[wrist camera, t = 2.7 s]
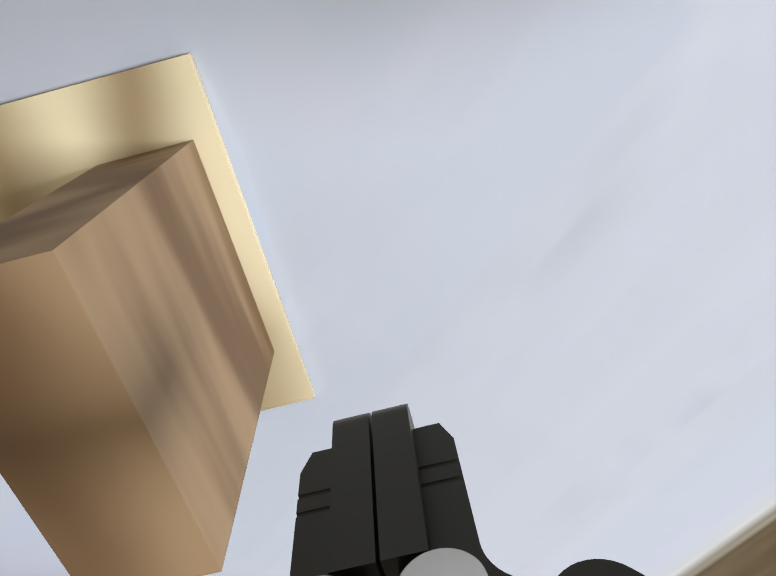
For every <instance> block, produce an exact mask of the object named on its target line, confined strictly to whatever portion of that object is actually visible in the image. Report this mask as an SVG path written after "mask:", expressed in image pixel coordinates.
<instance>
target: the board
mask: <svg viewBox="0 0 776 576" xmlns="http://www.w3.org/2000/svg"><path fill="white" fill-rule="evenodd" d="M190 140H194V143H195V145H196V148H197V150H198V153H199V156H200V158H201V161H202V164H203V166H204V169H205V171H206V174H207V177H208V179H209V182H210V184H211V187H212V190H213V192H214V195H215V197H216V200H217V203H218V205H219V208H220V210H221V213H222V216H223V218H224V221H225V223H226V226H227V229H228V231H229V234H230V237H231V239H232V242H233V244H234V247H235V250H236V252H237V255H238V257H239V260H240V263H241V265H242V268H243V270H244V273H245V276H246V278H247V281H248V283H249V286H250V289H251V291H252V294H253V297H254V299H255V302H256V304H257V307H258V310H259V312H260V315H261V317H262V320H263V323H264V325H265V328H266V330H267V333H268V336H269V338H270V341H271V343H272V346H273V349H274V355H273V360H272V364H271V368H270V372H269V376H268V380H267V385H266V389H265V393H264V397H263V401H262V405H261V409H260V411H262V410H266V409H270V408H275V407H279V406H283V405H287V404H292V403H296V402H300V401H304V400H309V399H313V398H314V395H315V393H314V390H313V387H312V385H311V382H310V379H309V376H308V374H307V371H306V368H305V365H304V363H303V360H302V357H301V354H300V352H299V349H298V346H297V343H296V340H295V338H294V335H293V332H292V329H291V327H290V324H289V321H288V318H287V316H286V313H285V310H284V307H283V305H282V302H281V299H280V296H279V294H278V291H277V288H276V285H275V283H274V280H273V277H272V274H271V272H270V269H269V266H268V263H267V260H266V258H265V255H264V252H263V249H262V247H261V244H260V241H259V238H258V236H257V233H256V230H255V227H254V225H253V222H252V219H251V216H250V214H249V211H248V208H247V205H246V203H245V200H244V197H243V194H242V191H241V189H240V186H239V183H238V180H237V178H236V175H235V172H234V169H233V167H232V164H231V161H230V158H229V156H228V153H227V150H226V147H225V145H224V142H223V139H222V136H221V134H220V131H219V128H218V125H217V123H216V120H215V117H214V114H213V111H212V109H211V106H210V103H209V100H208V98H207V95H206V92H205V89H204V87H203V84H202V81H201V78H200V76H199V73H198V70H197V67H196V65H195V62H194V59H193V56H192V54H191V53H189V54H186V55H182V56H178V57H175V58H171V59H167V60H164V61H160V62H156V63H153V64H149V65H145V66H142V67H138V68H134V69H131V70H127V71H123V72H120V73H116V74H113V75H109V76H105V77H102V78H98V79H94V80H91V81H87V82H83V83H80V84H76V85H72V86H69V87H65V88H61V89H58V90H54V91H50V92H47V93H43V94H39V95H36V96H32V97H28V98H25V99H21V100H18V101H14V102H10V103H7V104H3V105H0V223H1V222H2V221H4V220H6V219H7V218H9V217H11V216H13V215H14V214H16V213H18V212H19V211H21V210H23V209H24V208H26V207H28V206H29V205H31V204H33V203H34V202H36V201H38V200H39V199H41V198H43V197H45V196H46V195H48V194H50V193H51V192H53V191H55V190H56V189H58V188H60V187H61V186H63V185H65V184H66V183H68V182H70V181H72V180H73V179H75V178H77V177H78V176H80V175H82V174H83V173H85V172H87V171H88V170H90V169H92V168H93V167H95V166H97V165H100V164H103V163H107V162H111V161H115V160H118V159H122V158H126V157H130V156H134V155H137V154H141V153H145V152H149V151H152V150H156V149H160V148H164V147H168V146H171V145H175V144H179V143H183V142H186V141H190Z"/></svg>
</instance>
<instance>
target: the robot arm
mask: <svg viewBox="0 0 776 576" xmlns="http://www.w3.org/2000/svg"><path fill="white" fill-rule="evenodd" d="M298 496H299V500H298V502H297V512H296V514H297V518H296V522H295V532H294V541H293V551H292V561H291V570H290V576H511V575H509V574H507V573H505V572H503V571H502V570H500V569H498V568H497V567H496V566H495V565H493V564H492V563H491V562H490V561H489V559H488V558H487V557H486V556H485V554H484V552H483V550H482V548H481V545H480V542H479V538H478V534H477V530H476V526H475V522H474V518H473V514H472V510H471V506H470V502H469V498H468V494H467V490H466V486H465V482H464V478H463V474H462V470H461V466H460V462H459V458H458V454H457V450H456V446H455V442H454V438H453V437H452V436H451V435H450V434H449V433H448V432H447V431H446V430H445V429H444V428H443V427H442V426H441V425H440V424H439V423H437V424H433V425H428V426H424V427H420V428H416V429H415V428H414V425H413V421H412V417H411V414H410V410H409V407H408V404H404V405H400V406H395V407H391V408H387V409H383V410H378V411H374V412H372V415H371V414H370V413H366V414H362V415H358V416H354V417H349V418H345V419H341V420H337V421H334V422H333V434H332V448H331V449H327V450H322V451H318V452H314V453H312V455H311V457H310V458H309V460H308V462H307V463H306V465H305V467H304V469H303V470H302V472H301V474H300V483H299V493H298ZM558 576H645V575H643V574H641V573H639V572H637V571H636V570H634V569H632V568H630V567H628V566H626V565H624V564H621V563H618V562H615V561H611V560H605V559H591V560H584V561H581V562H577V563H575V564H573V565H571V566H569V567H568V568H566V569H565V570H563V571H562V572H561V573H560V574H559V575H558Z"/></svg>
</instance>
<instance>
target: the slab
mask: <svg viewBox="0 0 776 576" xmlns="http://www.w3.org/2000/svg"><path fill="white" fill-rule="evenodd" d="M273 355H274V349H273V346H272V343H271V341H270V338H269V336H268V333H267V330H266V328H265V325H264V323H263V320H262V317H261V315H260V312H259V310H258V307H257V304H256V302H255V299H254V297H253V294H252V291H251V289H250V286H249V283H248V281H247V278H246V276H245V273H244V270H243V268H242V265H241V263H240V260H239V257H238V255H237V252H236V250H235V247H234V244H233V242H232V239H231V237H230V234H229V231H228V229H227V226H226V223H225V221H224V218H223V216H222V213H221V210H220V208H219V205H218V203H217V200H216V197H215V195H214V192H213V190H212V187H211V184H210V182H209V179H208V177H207V174H206V171H205V169H204V166H203V164H202V161H201V158H200V156H199V153H198V150H197V148H196V145H195V143H194V140H190V141H186V142H183V143H179V144H175V145H171V146H168V147H164V148H160V149H156V150H152V151H149V152H145V153H141V154H137V155H134V156H130V157H126V158H122V159H118V160H115V161H111V162H107V163H103V164H100V165H97V166H95V167H93V168H92V169H90V170H88V171H87V172H85V173H83V174H82V175H80V176H78V177H77V178H75V179H73V180H72V181H70V182H68V183H66V184H65V185H63V186H61V187H60V188H58V189H56V190H55V191H53V192H51V193H50V194H48V195H46V196H45V197H43V198H41V199H39V200H38V201H36V202H34V203H33V204H31V205H29V206H28V207H26V208H24V209H23V210H21V211H19V212H18V213H16V214H14V215H13V216H11V217H9V218H7V219H6V220H4V221H2V222H1V223H0V474H1V475H2V476H3V478H4V479H5V481H6V482H7V484H8V485H9V487H10V488H11V490H12V491H13V492H14V494H15V495H16V497H17V498H18V500H19V501H20V503H21V504H22V506H23V507H24V509H25V510H26V511H27V513H28V514H29V516H30V517H31V519H32V520H33V522H34V523H35V525H36V526H37V528H38V529H39V530H40V532H41V533H42V535H43V536H44V538H45V539H46V541H47V542H48V544H49V545H50V547H51V548H52V549H53V551H54V552H55V554H56V555H57V557H58V558H59V560H60V561H61V563H62V564H63V566H64V567H65V568H66V570H67V571H68V573H69V574H70V576H203V575H208V574H212V573H217V572H221V571H222V567H223V563H224V559H225V555H226V551H227V547H228V542H229V538H230V534H231V530H232V526H233V522H234V517H235V513H236V509H237V505H238V501H239V497H240V493H241V488H242V484H243V480H244V476H245V472H246V468H247V463H248V459H249V455H250V451H251V447H252V443H253V439H254V434H255V430H256V426H257V422H258V418H259V414H260V409H261V405H262V401H263V397H264V393H265V389H266V385H267V380H268V376H269V372H270V368H271V364H272V360H273Z"/></svg>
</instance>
